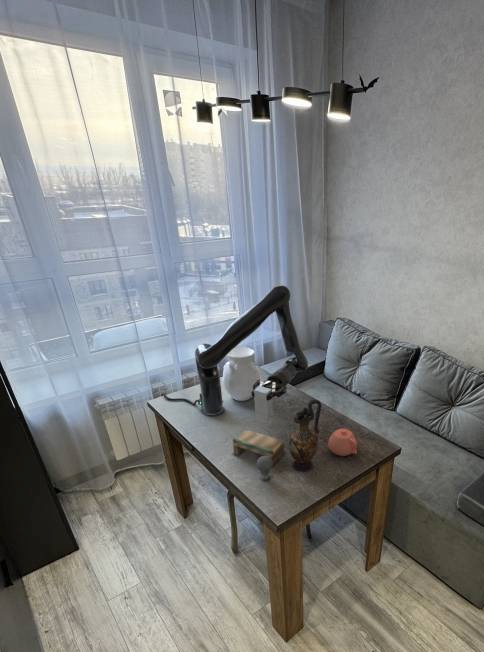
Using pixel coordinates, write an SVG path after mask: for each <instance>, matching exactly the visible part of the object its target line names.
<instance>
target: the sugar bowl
mask: <svg viewBox="0 0 484 652" xmlns="http://www.w3.org/2000/svg"><path fill="white" fill-rule="evenodd" d="M327 447H328V449H329V451H331V453H333V454H334V455H336V456H339V457H346V456H350V455H352V454H353V455H357V454H358V450H357V448H358V441H357V439H356V437H355V435H354V433H353V432H352V431H351V430H349V429H348V428H338V429H336V430H335V431H334V432H332V434H331V435H330V436H329V438H328V442H327Z"/></svg>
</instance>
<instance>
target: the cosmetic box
mask: <svg viewBox="0 0 484 652" xmlns="http://www.w3.org/2000/svg"><path fill="white" fill-rule="evenodd" d="M270 392H272V389H269V388H265V387H261V386H259V387H257V388H256V389H255V390H254V397H253V399H254V409H255V410H254V412H255V416H257V417H260V418H263V419H267V420H268V419H269V418H270V417H272V416H273V413H274V412H273V398H272V399H271V400H269V401H268V400H266V396H267V395H268V394H269V393H270Z"/></svg>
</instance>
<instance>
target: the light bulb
mask: <svg viewBox="0 0 484 652" xmlns="http://www.w3.org/2000/svg"><path fill="white" fill-rule="evenodd" d="M273 467H274V465H273V461H272V459H271V458H270V457H268V456H266V455H262V456H260V457H259V458H258V459H257V461H256V468H257V470H259V471H260V474H261V479H263V480H268V479H269V478H270V471H271V470H272V469H273Z"/></svg>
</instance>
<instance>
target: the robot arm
mask: <svg viewBox="0 0 484 652" xmlns="http://www.w3.org/2000/svg"><path fill="white" fill-rule="evenodd" d="M290 300H291V291H290V289H289V288H288V287H287V286H286V285H284V284H276V285H274V286H273V287H272V288H271V289H270V290H269V291H268V292H267V293H266V294H265V295H264V297H263V298H262V299H260V300H259V301H258V302H257V303H255V304H254V305H253V306H251V307H249V308H248V309H247V310H245V311H244V312H243V313H242V314H240V315H239V316H238V317H237V318H235V319H234V320H233V321H232V322H231V323H230V324H229V325H228V326H227V328H226V329H225V331H224V332H223V334H222V336H221V337H220V338H219V339H218V340H217V341H216V342H214V343H213V344H210V343H201V344H200V345H198V346H197V347H196V349H195V351H194V358H195V364H196V372H197V375H198V381H199V389H200V392H199V399H196V400H194V402H192V401H191V400H189V399H187V398H170V397H168V396H167V394H165V393H162V394H160V396H161V397H164V398H165V399H166V400H168V401H185V402H187V403H189V404H190V405H191V406H196V405H197V404H198V406H200V409H201V412H203V414H205V415H206V416H217V415H220V414H222V413H223V412H224V400H223V393H222V384H221V373H220V371H219V366H218V365H219V364H220V363H221V362H222V361H223V359H225V358H226V357H227V356H226V355H227V354H228V353H229V352H230V351H231V350H233V349H234V348H235V347H238V346H239V345H240V344H241V343H243V341H245V340H246V339H247V338H249V337H250V336H251V335H252V334H253V333H255V332H256V331H257V329H259V328H260V327H261V326H262V324H264V322H265V321H266V320H267V319H268V318H269V317H270V316H271V315H273V314H274V313H275V314H276V317H277V320H278V324H279V325H278V326H279V328H280V334H281V338H282V342H283V346H284V350H285V352H286V353H288V354H293V355H294V357H290V358H288V359H286V360H285V361H284V363H283V365H282V366H281V367H280V368H278V369H276V371H274V372H272V373H271V374H270V375H269V376H268V377H267V379H266V380H265V381H261V379H260V380H257V381H256V382H255V384H254V385H253V391H252V392H251V393H252V397H251V398H254V390H255V389H256V388H257V387H259V386H261V387H265V388H269V389H272V392H270V393H269V394H268V395H267V396H266V400H268V401H269V400H271V399H272V400H273V398H275V397H276V398H280V397H282V396H283V395H285V394H287V392H288V391H287V389H288V387H287V385H288V384H289V383H290V382H291V381H292V380H293V379H294V378H295V377H296V375H297V373H300V372H304V371H307V369H308V368H309V361H308V358H307V356H306V354H305V353H304V351H303V349H302V347H301V344H300V340H299V336H298V332H297V329H296V326H295V324H294V321H293V318H292V314H291V309H290V308H291V307H290Z"/></svg>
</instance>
